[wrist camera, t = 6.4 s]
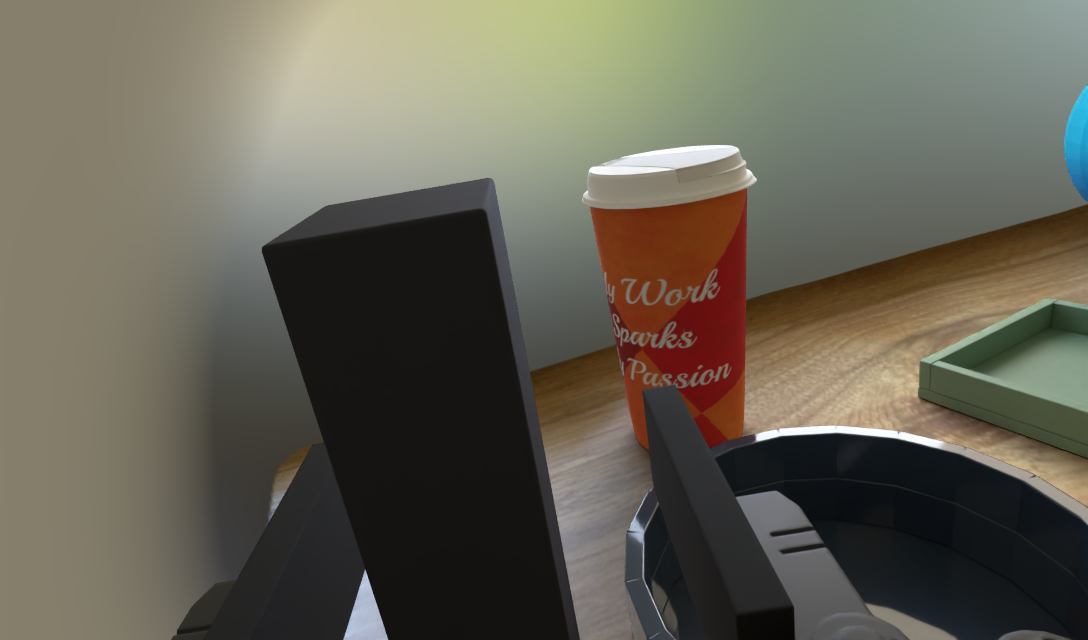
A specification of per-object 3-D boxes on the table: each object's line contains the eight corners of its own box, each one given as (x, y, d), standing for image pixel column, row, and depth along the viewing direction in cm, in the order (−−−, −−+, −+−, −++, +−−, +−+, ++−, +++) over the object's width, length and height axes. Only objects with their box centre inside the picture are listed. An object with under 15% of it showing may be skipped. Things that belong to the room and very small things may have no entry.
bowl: (567, 628, 23) (547, 525, 21) (829, 482, 28) (828, 390, 26) (928, 1115, 11) (942, 971, 10) (1260, 719, 16) (1304, 582, 15)
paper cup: (585, 446, 33) (543, 178, 29) (663, 383, 39) (638, 147, 34) (724, 491, 28) (701, 173, 23) (792, 411, 33) (785, 137, 29)
